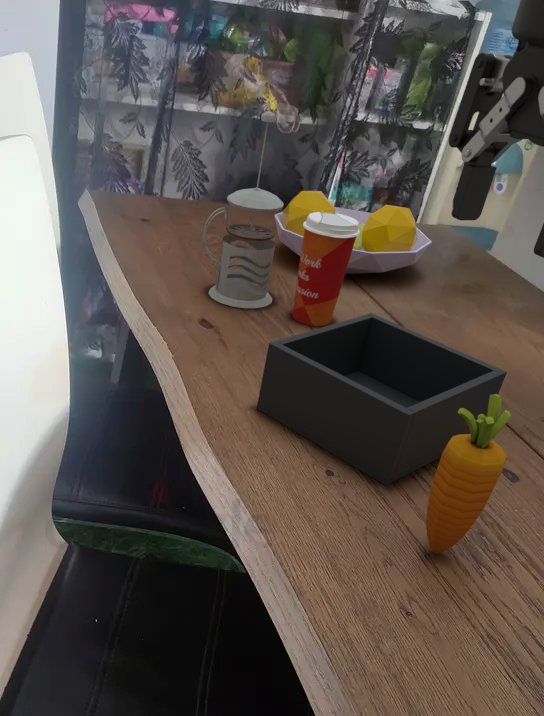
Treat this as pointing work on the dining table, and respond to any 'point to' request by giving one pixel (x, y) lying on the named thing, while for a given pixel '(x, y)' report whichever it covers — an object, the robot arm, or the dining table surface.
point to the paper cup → (323, 265)
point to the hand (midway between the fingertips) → (503, 236)
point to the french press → (238, 283)
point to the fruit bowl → (377, 233)
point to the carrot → (465, 477)
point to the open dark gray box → (375, 393)
